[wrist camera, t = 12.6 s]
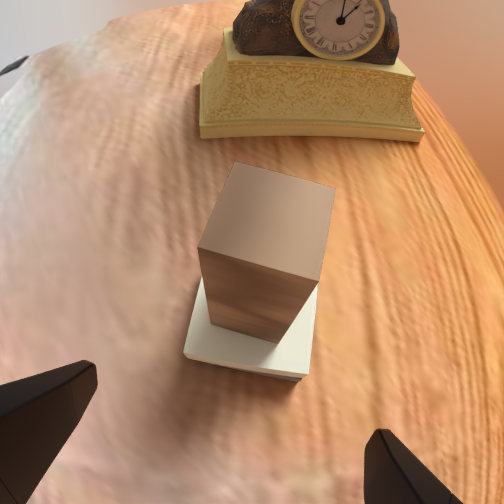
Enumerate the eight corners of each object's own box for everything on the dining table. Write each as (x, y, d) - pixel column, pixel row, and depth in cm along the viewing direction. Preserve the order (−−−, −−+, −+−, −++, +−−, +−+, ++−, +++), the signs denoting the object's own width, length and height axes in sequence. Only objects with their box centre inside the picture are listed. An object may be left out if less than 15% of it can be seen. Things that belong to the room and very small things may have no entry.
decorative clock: (200, 139, 34) (191, -134, 8) (201, 83, 40) (197, -116, 14) (419, 142, 37) (497, -53, 11) (383, 90, 43) (430, -74, 17)
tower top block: (313, 275, 25) (319, 263, 23) (302, 378, 21) (308, 374, 19) (211, 258, 25) (210, 245, 23) (187, 358, 21) (182, 352, 19)
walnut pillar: (294, 282, 22) (335, 188, 13) (278, 343, 20) (319, 281, 11) (231, 264, 22) (234, 161, 14) (210, 324, 20) (197, 246, 12)
